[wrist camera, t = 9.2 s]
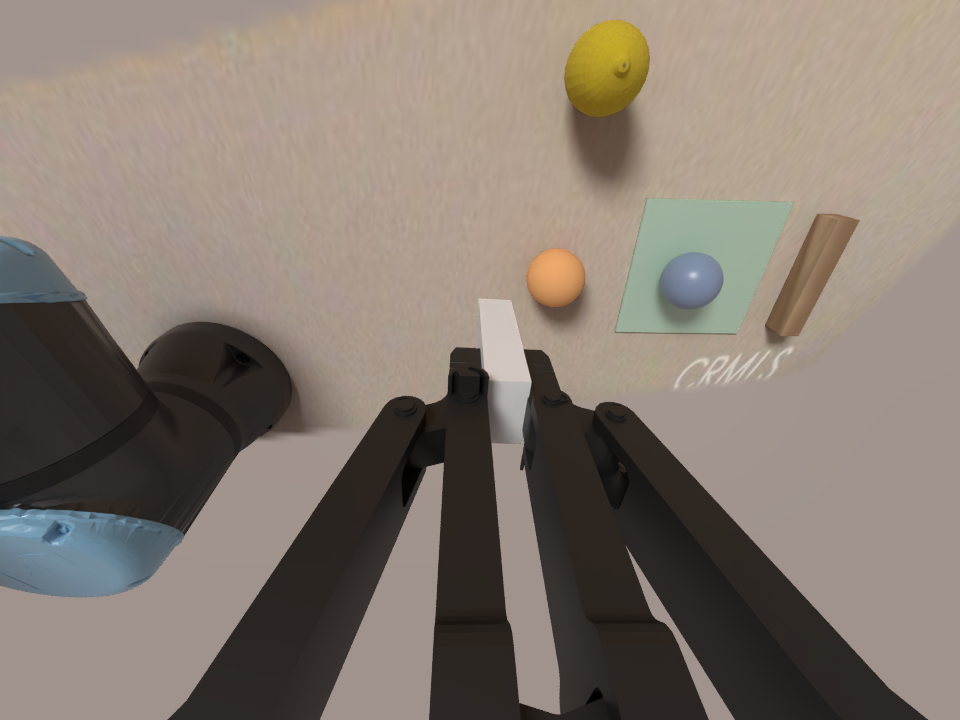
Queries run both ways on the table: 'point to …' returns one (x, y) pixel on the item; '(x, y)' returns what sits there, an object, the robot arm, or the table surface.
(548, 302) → the ball
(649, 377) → the table surface
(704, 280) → the ball
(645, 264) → the mark
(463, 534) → the robot arm
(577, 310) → the table surface
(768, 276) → the table surface
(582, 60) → the lemon
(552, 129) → the table surface
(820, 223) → the rail
